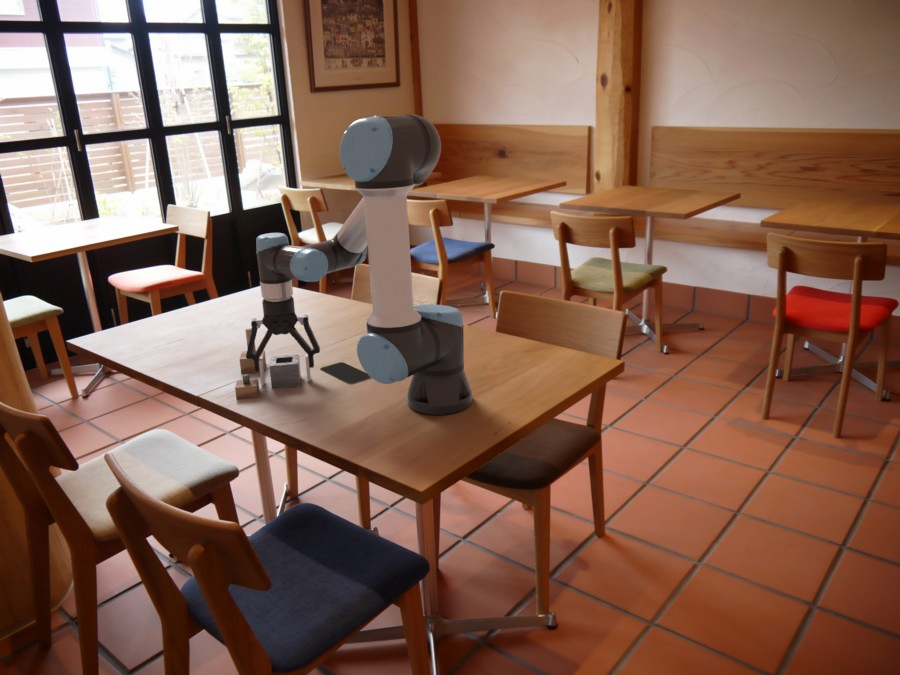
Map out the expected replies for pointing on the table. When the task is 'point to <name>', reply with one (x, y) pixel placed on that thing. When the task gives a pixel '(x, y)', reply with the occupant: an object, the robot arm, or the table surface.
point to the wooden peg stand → (248, 364)
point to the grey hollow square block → (285, 371)
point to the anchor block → (247, 388)
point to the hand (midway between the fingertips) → (286, 381)
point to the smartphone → (345, 373)
